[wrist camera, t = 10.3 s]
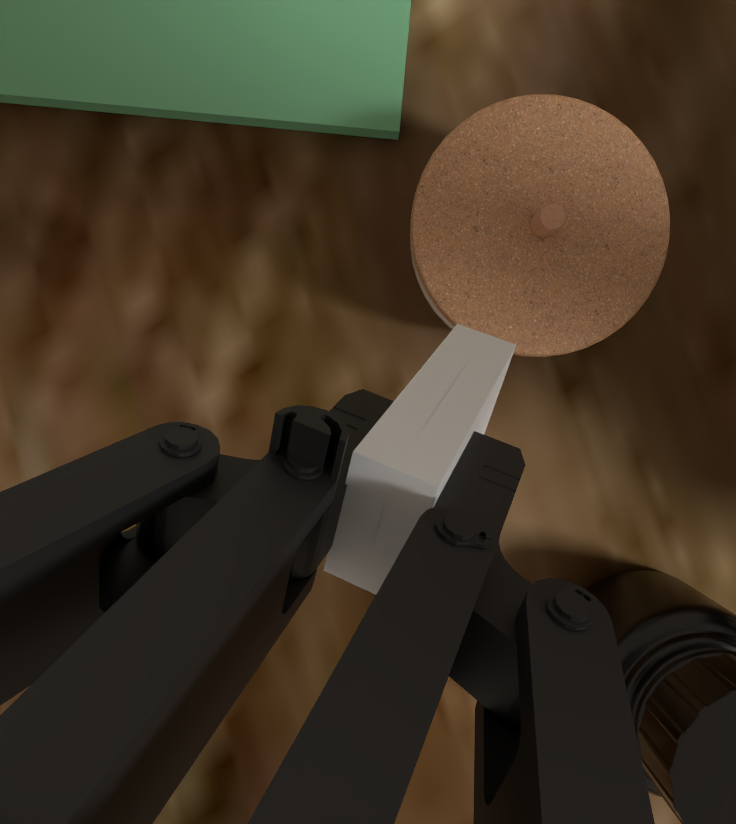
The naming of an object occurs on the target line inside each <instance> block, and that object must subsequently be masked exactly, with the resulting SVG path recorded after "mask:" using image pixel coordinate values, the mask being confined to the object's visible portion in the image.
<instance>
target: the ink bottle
mask: <svg viewBox="0 0 736 824" xmlns="http://www.w3.org/2000/svg"><path fill="white" fill-rule="evenodd" d="M586 590H587V591H588V592H590V593H591V594H592V595H594V596H595V597H596V598H597V599H598V600H599V601H600V602H601V603H602V605H603V606H604V607H605V608H606V609H607V611H608V613H609V616H610V618H611V620H612V623H613V627H614V632H615V637H616V642H617V646H618V651H619V656H620V661H621V665H622V670H623V675H624V680H625V685H626V689H627V694H628V699H629V704H630V708H631V713H632V718H633V723H634V728H635V732H636V737H637V742H638V747H639V751H640V756H641V761H642V766H643V771H644V775H645V780H646V785H647V790H648V792H649V793H651V794H653V795H656V796H659V797H663V799H664V800H665V801H666V803H667V804H668V806H669V807H670V808H671V810H672V811H673V813H674V814H675V815H676V817H677V818H678V819H679V821H680V822H681V824H736V615H735V614H733V613H732V612H730V611H729V610H727V609H725V608H724V607H722V606H721V605H719V604H717V603H716V602H714V601H713V600H711V599H710V598H708V597H706V596H705V595H703V594H702V593H700V592H699V591H697V590H695V589H694V588H692V587H691V586H689V585H688V584H686V583H684V582H683V581H681V580H679V579H677V578H675V577H673V576H670V575H668V574H665V573H661V572H657V571H649V570H634V571H626V572H621V573H618V574H614V575H611V576H609V577H606V578H604V579H602V580H600V581H598V582H596V583H594V584H593V585H591V586H590V587H588V588H587V589H586Z"/></svg>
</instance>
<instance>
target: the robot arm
mask: <svg viewBox="0 0 736 824" xmlns="http://www.w3.org/2000/svg"><path fill="white" fill-rule="evenodd" d="M515 347H516V344H513V343H510V342H507V341H504V340H502V339H499V338H496V337H493V336H490V335H488V334H485V333H482V332H479V331H476V330H474V329H471V328H468V327H465V326H462V325H460V324H457V325H456V326H455V327H454V328H453V330H452V331H451V332H450V333H449V334H448V336H447V337H446V338H445V339H444V341H443V342H442V343H441V344H440V346H439V347H438V348H437V349H436V350H435V352H434V353H433V354H432V355H431V357H430V358H429V359H428V360H427V361H426V363H425V364H424V365H423V366H422V368H421V369H420V370H419V371H418V372H417V374H416V375H415V376H414V377H413V379H412V380H411V381H410V382H409V384H408V385H407V386H406V387H405V388H404V390H403V391H402V392H401V393H400V395H399V396H398V397H397V398H396V399H395V401H392V400H389V399H387V398H384V397H382V396H379V395H376V394H374V393H371V392H369V391H366V390H364V389H362V390H359V391H356V392H353V393H350V394H347V395H345V396H344V397H343V398H342V399H341V400H340V401H339V402H338V403H337V404H336V405H335V406H334V408H333V409H331V410H330V411H327V410H323V409H320V408H316V407H313V406H299V405H298V406H292V407H286V408H283V409H282V410H280V411H278V412H276V413H275V418H274V424H273V430H272V436H271V442H270V448H269V452H268V453H267V454H266V455H265V456H264V457H263V458H262V459H261V460H251V459H243V458H238V457H232V456H227V455H222V454H219V453H220V444H219V441H218V438H217V437H216V436H215V435H214V434H213V433H212V432H211V431H209V430H207V429H205V428H203V427H201V426H199V425H195V424H190V423H185V422H171V423H165V424H161V425H157V426H154V427H152V428H149V429H147V430H145V431H142V432H140V433H138V434H135V435H133V436H130V437H128V438H126V439H123V440H121V441H119V442H116V443H114V444H112V445H109V446H107V447H105V448H102V449H100V450H98V451H95V452H93V453H91V454H88V455H86V456H84V457H81V458H79V459H77V460H74V461H72V462H70V463H67V464H65V465H63V466H60V467H58V468H56V469H53V470H51V471H49V472H46V473H44V474H42V475H39V476H37V477H35V478H32V479H30V480H28V481H25V482H23V483H21V484H18V485H16V486H14V487H11V488H9V489H6V490H4V491H2V492H0V705H2V704H3V703H5V702H6V701H8V700H9V699H11V698H12V697H14V696H15V695H17V694H18V693H20V692H21V691H23V690H24V689H26V688H27V687H29V686H30V685H31V686H30V687H29V688H28V689H27V690H26V691H25V692H24V693H23V694H22V695H21V696H20V697H19V698H18V699H17V700H16V701H15V702H14V703H13V704H12V705H11V706H10V707H8V708H7V709H6V710H5V711H4V712H3V713H2V714H1V715H0V824H152V823H153V822H154V821H155V819H156V818H157V816H158V815H159V813H160V812H161V810H162V809H163V807H164V806H165V804H166V803H167V801H168V800H169V798H170V797H171V795H172V794H173V793H174V791H175V790H176V788H177V787H178V785H179V784H180V782H181V781H182V779H183V778H184V776H185V775H186V773H187V772H188V770H189V769H190V767H191V766H192V764H193V763H194V762H195V760H196V759H197V757H198V756H199V754H200V753H201V751H202V750H203V748H204V747H205V745H206V744H207V742H208V741H209V739H210V738H211V736H212V735H213V734H214V732H215V731H216V729H217V728H218V726H219V725H220V723H221V722H222V720H223V719H224V717H225V716H226V714H227V713H228V711H229V710H230V708H231V707H232V705H233V704H234V703H235V701H236V700H237V698H238V697H239V695H240V694H241V692H242V691H243V689H244V688H245V686H246V685H247V683H248V682H249V680H250V679H251V677H252V676H253V675H254V673H255V672H256V670H257V669H258V667H259V666H260V664H261V663H262V661H263V660H264V658H265V657H266V655H267V654H268V652H269V651H270V649H271V648H272V646H273V645H274V644H275V642H276V641H277V639H278V638H279V636H280V635H281V633H282V632H283V630H284V629H285V627H286V626H287V624H288V623H289V621H290V620H291V618H292V617H293V616H294V614H295V613H296V611H297V610H298V608H299V607H300V605H301V604H302V602H303V601H304V599H305V598H306V596H307V595H308V593H309V592H310V590H311V588H312V586H313V583H314V580H315V576H316V571H317V567H318V566H319V564H320V563H321V561H322V560H323V559H324V557H325V556H326V554H327V553H328V555H327V559H326V563H325V567H324V571H325V572H328V573H330V574H332V575H334V576H336V577H338V578H341V579H343V580H345V581H347V582H349V583H352V584H354V585H356V586H358V587H360V588H362V589H365V590H367V591H369V592H371V593H373V594H375V595H376V596H375V598H374V600H373V601H372V603H371V605H370V607H369V609H368V610H367V612H366V614H365V616H364V617H363V619H362V621H361V623H360V625H359V626H358V628H357V630H356V632H355V634H354V635H353V637H352V639H351V641H350V642H349V644H348V646H347V648H346V650H345V651H344V653H343V655H342V657H341V658H340V660H339V662H338V664H337V666H336V667H335V669H334V671H333V673H332V675H331V676H330V678H329V680H328V682H327V683H326V685H325V687H324V689H323V691H322V692H321V694H320V696H319V698H318V700H317V701H316V703H315V705H314V707H313V708H312V710H311V712H310V714H309V716H308V717H307V719H306V721H305V723H304V724H303V726H302V728H301V730H300V732H299V733H298V735H297V737H296V739H295V741H294V742H293V744H292V746H291V748H290V749H289V751H288V753H287V755H286V757H285V758H284V760H283V762H282V764H281V766H280V767H279V769H278V771H277V773H276V774H275V776H274V778H273V780H272V782H271V783H270V785H269V787H268V789H267V790H266V792H265V794H264V796H263V798H262V799H261V801H260V803H259V805H258V807H257V808H256V810H255V812H254V814H253V815H252V817H251V819H250V821H249V823H248V824H394V822H395V820H396V817H397V814H398V811H399V809H400V806H401V803H402V801H403V798H404V795H405V793H406V790H407V787H408V784H409V782H410V779H411V776H412V774H413V771H414V768H415V766H416V763H417V760H418V757H419V755H420V752H421V749H422V747H423V744H424V741H425V738H426V736H427V733H428V730H429V728H430V725H431V722H432V720H433V717H434V714H435V711H436V709H437V706H438V703H439V701H440V698H441V695H442V693H443V690H444V687H445V684H446V682H447V679H448V676H450V677H451V678H452V679H453V680H454V681H455V682H457V683H458V684H459V685H460V686H461V687H462V688H464V689H465V690H466V691H467V692H468V693H469V694H471V695H472V696H473V697H474V698H475V699H476V700H477V703H476V707H475V760H474V824H655V823H654V818H653V814H652V809H651V804H650V799H649V794H648V790H647V785H646V780H645V775H644V771H643V766H642V761H641V756H640V751H639V747H638V742H637V737H636V732H635V728H634V723H633V718H632V713H631V708H630V704H629V699H628V694H627V689H626V685H625V680H624V675H623V670H622V665H621V661H620V656H619V651H618V646H617V642H616V637H615V632H614V627H613V623H612V620H611V618H610V616H609V613H608V611H607V609H606V608H605V607H604V606H603V605H602V603H601V602H600V601H599V600H598V599H597V598H596V597H595V596H594V595H592V594H591V593H590V592H588V591H587V590H585V589H584V588H582V587H581V586H578V585H576V584H573V583H571V582H568V581H566V580H559V579H551V578H549V579H544V580H540V581H537V582H535V583H534V584H531V583H530V582H529V581H527V580H526V579H524V578H523V577H522V576H521V575H519V574H518V573H517V572H516V571H515V570H513V569H512V567H511V566H510V565H509V564H508V563H507V561H506V560H505V559H504V557H503V555H502V553H501V551H500V547H499V536H500V533H501V530H502V527H503V525H504V522H505V519H506V516H507V514H508V511H509V508H510V506H511V503H512V500H513V497H514V495H515V492H516V489H517V486H518V484H519V481H520V478H521V476H522V473H523V470H524V467H525V462H524V459H523V456H522V453H521V450H520V449H519V448H517V447H514V446H512V445H509V444H506V443H504V442H501V441H499V440H496V439H494V438H491V437H489V436H486V435H484V433H485V430H486V428H487V425H488V422H489V419H490V417H491V414H492V411H493V408H494V405H495V403H496V400H497V397H498V394H499V392H500V389H501V386H502V383H503V381H504V378H505V375H506V372H507V370H508V367H509V364H510V361H511V358H512V356H513V353H514V350H515ZM134 524H136V526H135V527H133V528H132V529H130V530H128V531H125V532H122V531H123V530H125V529H127V528H129V527H131V526H133V525H134Z"/></svg>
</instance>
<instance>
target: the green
mask: <svg viewBox="0 0 736 824" xmlns="http://www.w3.org/2000/svg"><path fill="white" fill-rule="evenodd" d="M410 8H411V0H0V102H1V103H12V104H22V105H33V106H44V107H54V108H65V109H76V110H86V111H97V112H107V113H118V114H129V115H139V116H150V117H161V118H171V119H182V120H193V121H203V122H214V123H225V124H235V125H246V126H256V127H267V128H278V129H288V130H299V131H310V132H320V133H331V134H342V135H352V136H363V137H374V138H384V139H395V140H398V137H399V131H400V120H401V108H402V97H403V86H404V75H405V64H406V52H407V41H408V30H409V19H410Z"/></svg>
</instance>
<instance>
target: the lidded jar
mask: <svg viewBox="0 0 736 824" xmlns="http://www.w3.org/2000/svg"><path fill="white" fill-rule="evenodd" d="M669 238H670V212H669V203H668V197H667V193H666V190H665V186H664V182H663V179H662V177H661V175H660V172H659V170H658V168H657V165H656V163H655V161H654V159H653V158H652V156H651V155H650V153H649V152H648V150H647V149H646V147H645V146H644V144H643V143H642V142H641V141H640V140H639V138H638V137H637V136H636V135H635V134H634V133H633V132H632V131H631V130H630V128H628V127H627V126H626V125H625V124H623V123H622V122H621V121H620V120H618V119H617V118H616V117H615V116H613V115H611V114H610V113H608V112H606V111H604V110H603V109H601V108H599V107H597V106H596V105H593V104H590V103H587V102H585V101H582V100H579V99H577V98H572V97H567V96H562V95H556V94H531V95H523V96H515V97H512V98H509V99H505V100H502V101H498V102H495V103H493V104H491V105H489V106H487V107H485V108H483V109H481V110H479V111H477V112H475V113H474V114H472V115H471V116H469V117H468V118H467V119H465V120H464V121H462V122H461V123H460V124H459V125H457V126H456V127H455V128H454V129H453V130H452V131H451V132H450V133H449V134H448V135H447V136H446V137H445V138H444V139H443V141H442V142H441V143H440V145H439V146H438V147H437V149H436V150H435V151H434V152H433V154H432V156H431V158H430V159H429V161H428V163H427V165H426V167H425V169H424V170H423V172H422V175H421V178H420V181H419V184H418V186H417V189H416V192H415V196H414V201H413V206H412V212H411V224H410V248H411V256H412V264H413V267H414V271H415V274H416V278H417V281H418V283H419V285H420V288H421V290H422V292H423V294H424V296H425V298H426V300H427V301H428V303H429V304H430V306H431V307H432V309H433V310H434V312H435V313H436V314H437V315H438V316H439V317H440V318H441V319H442V321H443V322H444V323H445V324H446V325H447V326H449V327H450V328H451V329H452V330H453V328H454V327H455V326H456V325H457V324H460V325H462V326H465V327H468V328H471V329H474V330H476V331H479V332H482V333H485V334H488V335H490V336H493V337H496V338H499V339H502V340H504V341H507V342H510V343H513V344H516V347H515V350H514V353H513V355H517V356H523V357H548V356H555V355H563V354H568V353H571V352H574V351H578V350H581V349H585V348H587V347H589V346H591V345H593V344H595V343H598V342H600V341H602V340H604V339H605V338H607V337H608V336H610V335H611V334H613V333H614V332H616V331H617V330H619V329H620V328H621V327H622V326H623V325H624V324H625V323H627V322H628V321H629V320H630V319H631V318H632V317H633V316H634V315H635V314H636V313H637V312H638V310H639V309H640V308H641V306H642V305H643V304H644V303H645V301H646V300H647V299H648V297H649V295H650V294H651V292H652V290H653V288H654V286H655V285H656V283H657V281H658V279H659V276H660V274H661V271H662V268H663V265H664V263H665V259H666V255H667V250H668V245H669Z"/></svg>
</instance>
